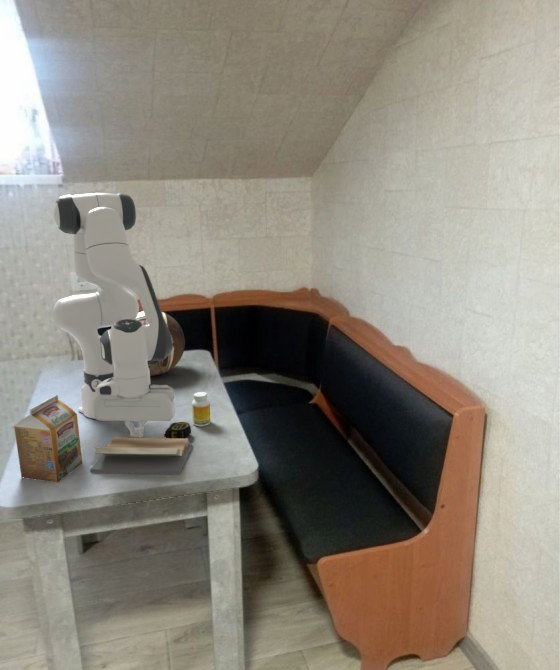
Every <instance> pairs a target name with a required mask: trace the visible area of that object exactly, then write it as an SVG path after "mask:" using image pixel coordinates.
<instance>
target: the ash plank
mask: <svg viewBox="0 0 560 670" xmlns="http://www.w3.org/2000/svg"><path fill="white" fill-rule="evenodd" d="M94 454H98V455H102V454H103V455H151V456H182V450H180V449H177V448H118V447H108V446H107V447H105V446H101V447H99V446H97V447H95V449H94Z"/></svg>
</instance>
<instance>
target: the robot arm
mask: <svg viewBox="0 0 560 670" xmlns="http://www.w3.org/2000/svg"><path fill="white" fill-rule="evenodd" d="M53 219H54V221H55V224H56V225H57V228H58V229H59V230H60V231H61V232H63V233H65V234H68V235H69V234H70V235H73V245H72V246H73V257H74V269H75V270H74V271H75V275H76V276H77V278H78V279H79V280H81V281H82V282H83V283H86V284H89V285H92V286H94V287H96V288H97V289H96V290H97V291H96V292H92V293H83V294H72V295H69V296H66V297H63V298H59V299H58V300H57V301H56V302H55V304H54V306H53V310H52V317H53V320H54V323H55V324H56V325H57V327H58V328H59V329H61V330H62V331H65V332H66V333H67V334H69V335H70V336H72V337H73V338H74V340H75V341H76V342H77V344H78V345H79V348H80V349H81V350H80V351H81V355H82V360H83V366H84V370H83V380H84V383H85V384H84V385H82V386H81V406H79V407H78V412H79V413H82V414H83V415H84V416H85V417H87V418H89V419H95V420H97V421H102V422H103V421H104V422H107V421H108V422H109V421H111V422H112V421H113V422H124V425H125V426H126V428H127V429H128V431H129V432H130V434H129V435H130V437H143V435H144V428H145V427H146V424H147V422H170V421H172V420H173V418H174V417H176V407H175V402H174V399H175V390H174V389H173V388H172V387H171V386H169V385H168V384H152V383H151V376H150V370H149V367H148V364H147V361H159V360H164V359H165V358H166V357H167V356H168V355H169V354H170V352H171V351H172V349H173V341H172V336H171V334H170V331H169V329H168V327H167V324H166V322H165V320H164V318H163V315H162V312H163V311H162V310H161V306H160V304H159V301H158V298H157V295H156V293H155V289H154V286H153V284H152V281H151V278H150V275H149V274H148V271H147V269H146V268H145V267H144V266H143V265H141V264H139V263H138V262H137V261H136V260H135V259H134V257H133V256H132V253H131V250H130V246H129V240H128V236H127V231H128V230H131V229H132V228H133V227H134V226H135V224H136V220H137V207H136V205H135V201H134V200H133V198H132V197H131V196H130V195H128V194H124V193H121V192H120V193H119V192H117V193H110V192H109V193H108V192H94V193H81V194H74V195H71V194H66V195H62V196H59V197H58V198H57V199H56V200H55V203H54V207H53ZM127 289H128V290H127ZM129 290H130V291H129ZM131 291H132V292H133V293H134V294H136V296H137V297H138V299H137V297H136V296H135V295H134V294H133V293H132V292H131ZM138 300H139V302H140V304H139V302H138ZM140 305H141V308H142V312H143V311H144V314H145V317H146V320H147V324H146V325H143V324H142V323H141V322H139V321H137V320H135V319H136V317H137V315H138V313H139V311H140ZM108 327H111V328H110V329H106V331H104V332H103V334H102V335H100V334H99V332H98V330H99V329H102V328H108ZM133 421H134V422H138V424H139V425H140V427H135V426H134V424H133V423H132V422H133Z"/></svg>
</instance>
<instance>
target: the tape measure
mask: <svg viewBox="0 0 560 670" xmlns="http://www.w3.org/2000/svg"><path fill="white" fill-rule="evenodd" d="M191 427H192V426H191V424H190V423H188V422H187V421H186V422H185V421H179V422H172V423H171V424H170V425H169V426H168V428H166V430H165V432H164V433H163V438H183V439H188V438H189V437H190V436H191V433H192V428H191Z"/></svg>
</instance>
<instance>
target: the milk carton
mask: <svg viewBox="0 0 560 670" xmlns="http://www.w3.org/2000/svg"><path fill="white" fill-rule="evenodd" d="M13 428H14V435H15V441H16V448H17V449H16V450H17V457H18V462H19V470H20V476H21V478H22V477H24V478H23V479H27V478H29V480H34V479H36V480H35V481H42V482H47V483H48V482H50V483H55V484H57V483H59V482H61V481H62V480H63V479H64V478H65V477H67V476H69V475H70V474H71V473H72V472H73V471H75V470H76V469H77V468H78V467H80V466H81V465H83V457H82V456H83V455H82V447H81V446H82V445H81V439H80V438H81V437H80V430H79V421H78V414H77V412H76V411H75V410H73V408H71V407H70V406H69V405H67V404H66V403H65V402H62V401H61V400H60V399H59V397H58V394H55V395H52V396H51V397H49V398H48V399H46V400H44V401H42V402H40V403H39V404H37V405H35V406H33V407H31V408H30V409H29V415H27V416H25V417H23V418H21V419H20V420H19V421H17V423H16V424H15V425H14V426H13Z"/></svg>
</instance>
